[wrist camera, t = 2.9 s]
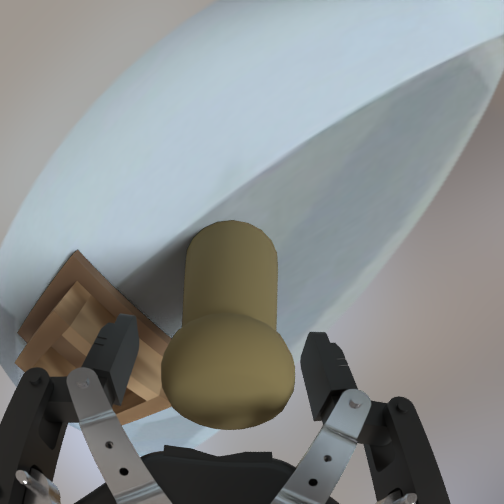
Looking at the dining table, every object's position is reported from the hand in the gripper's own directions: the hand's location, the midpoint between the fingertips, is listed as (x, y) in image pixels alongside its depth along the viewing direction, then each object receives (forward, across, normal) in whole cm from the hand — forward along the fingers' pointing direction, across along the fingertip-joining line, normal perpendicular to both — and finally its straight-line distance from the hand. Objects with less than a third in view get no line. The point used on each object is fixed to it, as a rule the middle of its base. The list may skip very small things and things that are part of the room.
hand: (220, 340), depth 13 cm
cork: (+7, 0, 0) cm, 7 cm away
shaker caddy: (+7, +11, +10) cm, 16 cm away
